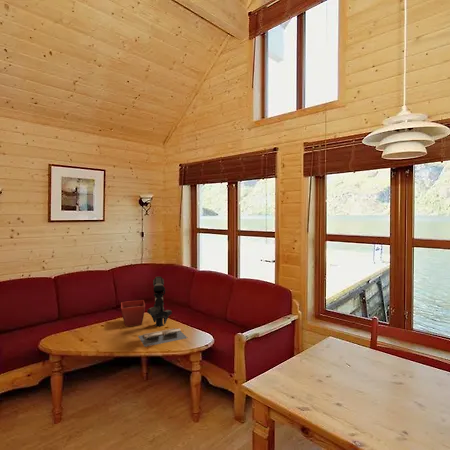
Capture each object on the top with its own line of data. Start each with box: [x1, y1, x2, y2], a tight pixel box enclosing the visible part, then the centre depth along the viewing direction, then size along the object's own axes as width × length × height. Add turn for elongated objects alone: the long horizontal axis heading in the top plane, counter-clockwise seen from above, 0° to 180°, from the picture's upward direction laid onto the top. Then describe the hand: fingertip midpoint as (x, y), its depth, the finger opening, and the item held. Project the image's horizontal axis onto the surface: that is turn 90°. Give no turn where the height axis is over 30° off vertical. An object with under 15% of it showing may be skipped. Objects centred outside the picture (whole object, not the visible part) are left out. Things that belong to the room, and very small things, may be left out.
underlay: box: [137, 331, 188, 348], centre depth 244 cm, size 22×32×1 cm
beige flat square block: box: [164, 328, 182, 336], centre depth 245 cm, size 10×10×2 cm
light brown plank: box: [142, 327, 176, 339], centre depth 249 cm, size 6×25×2 cm, turn 117°
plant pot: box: [120, 299, 146, 327], centre depth 274 cm, size 19×19×17 cm
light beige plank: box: [146, 332, 162, 339], centre depth 238 cm, size 10×10×2 cm
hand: (159, 323), depth 238 cm, fingers open, 9 cm apart
